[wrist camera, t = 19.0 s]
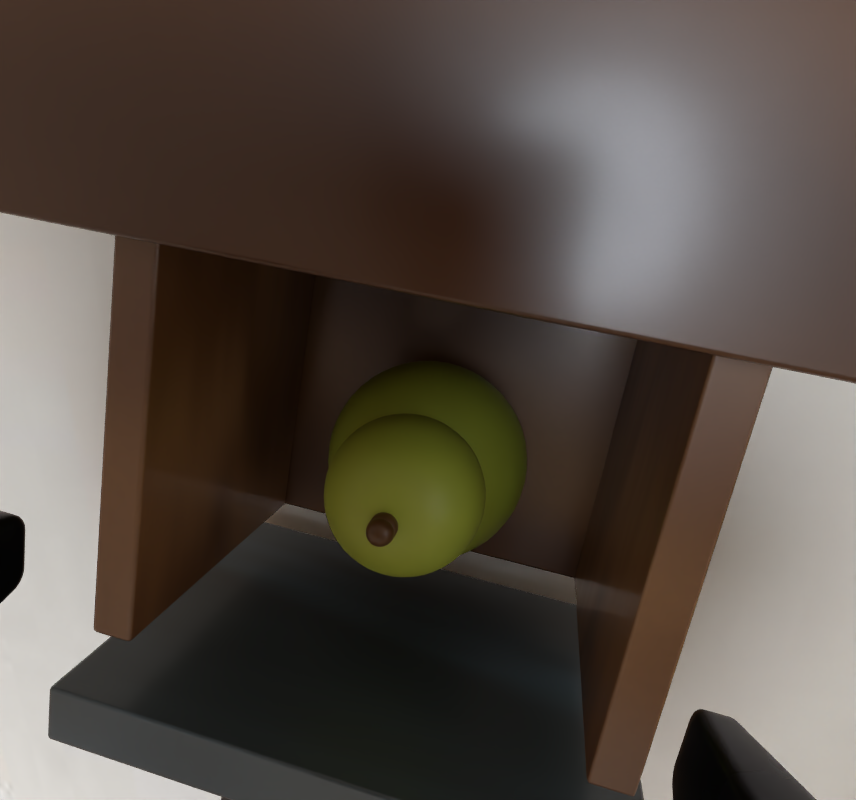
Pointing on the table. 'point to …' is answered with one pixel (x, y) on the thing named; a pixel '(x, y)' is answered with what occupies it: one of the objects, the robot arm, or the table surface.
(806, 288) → the cabinet
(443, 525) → the pear
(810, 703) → the table surface
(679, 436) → the drawer
